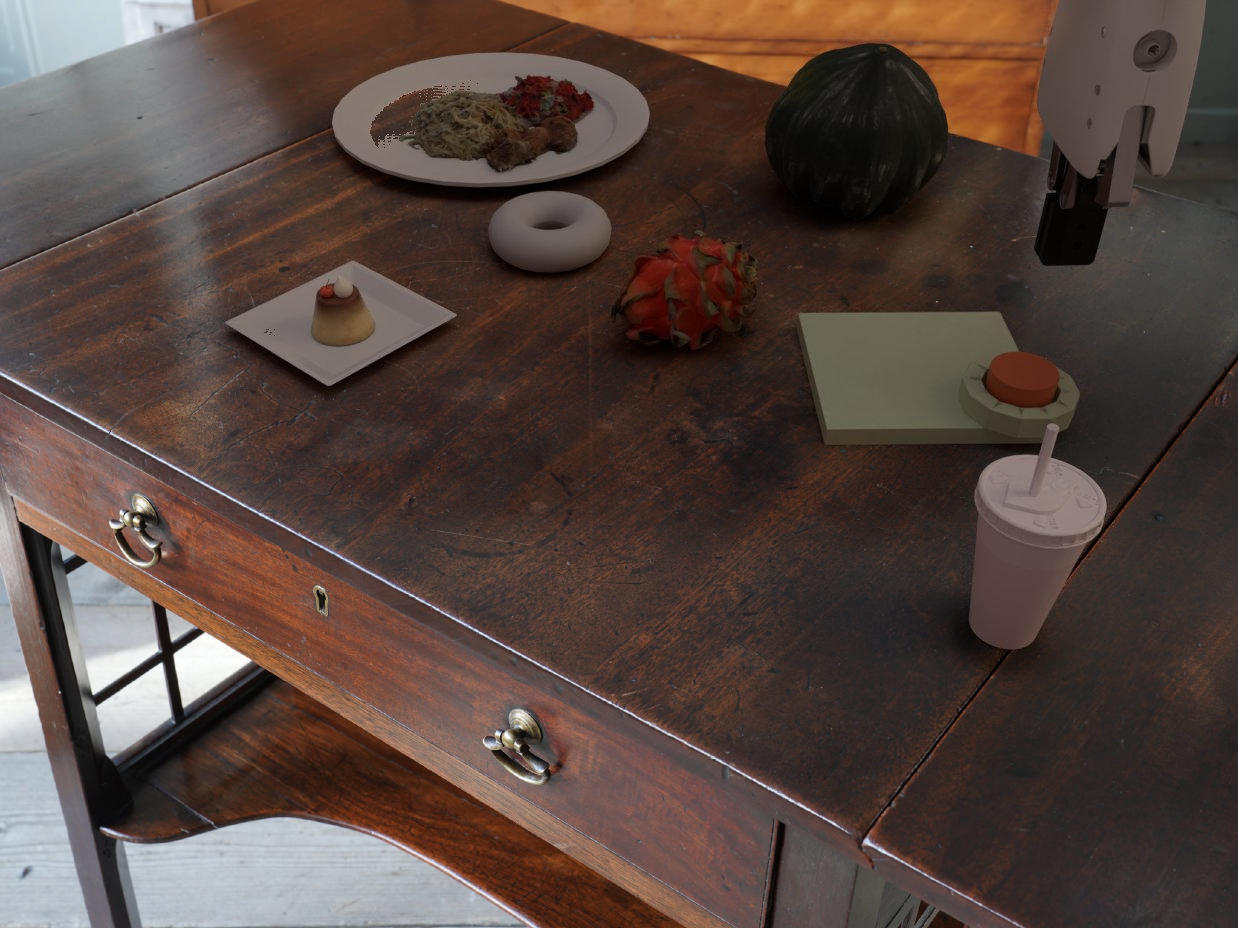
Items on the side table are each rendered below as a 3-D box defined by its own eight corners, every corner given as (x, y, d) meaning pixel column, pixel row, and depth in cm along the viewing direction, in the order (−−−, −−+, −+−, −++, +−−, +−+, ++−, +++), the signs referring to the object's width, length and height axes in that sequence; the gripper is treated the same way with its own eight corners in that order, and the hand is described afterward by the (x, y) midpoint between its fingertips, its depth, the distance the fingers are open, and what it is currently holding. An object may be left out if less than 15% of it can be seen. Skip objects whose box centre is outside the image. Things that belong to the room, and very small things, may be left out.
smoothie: (921, 602, 69) (967, 403, 60) (1014, 571, 71) (1072, 373, 62) (990, 683, 64) (1052, 480, 55) (1087, 647, 66) (1162, 446, 57)
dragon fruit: (766, 337, 92) (624, 394, 90) (718, 240, 94) (577, 293, 91) (799, 295, 84) (644, 356, 81) (745, 189, 86) (591, 246, 83)
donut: (465, 247, 100) (540, 294, 94) (461, 209, 98) (538, 254, 92) (559, 210, 105) (637, 252, 99) (558, 172, 103) (637, 213, 97)
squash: (809, 81, 113) (791, -9, 99) (969, 117, 108) (974, 28, 94) (758, 221, 112) (731, 151, 97) (917, 263, 107) (914, 196, 93)
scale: (1018, 327, 91) (1026, 292, 89) (1082, 454, 79) (1093, 418, 77) (796, 328, 91) (800, 293, 89) (827, 457, 79) (832, 420, 77)
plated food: (270, 165, 111) (263, 130, 109) (433, 53, 132) (430, 21, 130) (571, 229, 102) (570, 192, 100) (693, 97, 123) (694, 65, 121)
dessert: (226, 335, 89) (213, 278, 86) (354, 272, 96) (346, 217, 93) (330, 399, 83) (320, 340, 80) (459, 327, 90) (454, 271, 87)
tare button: (1043, 370, 82) (1048, 350, 81) (1062, 409, 79) (1068, 389, 78) (978, 370, 82) (982, 351, 81) (995, 409, 79) (1000, 390, 78)
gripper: (1280, -12, 56) (1170, 325, 68) (1162, -102, 68) (1086, 199, 79) (1117, -9, 56) (1035, 328, 68) (1027, -99, 67) (971, 201, 79)
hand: (1062, 258), depth 73 cm, fingers closed
